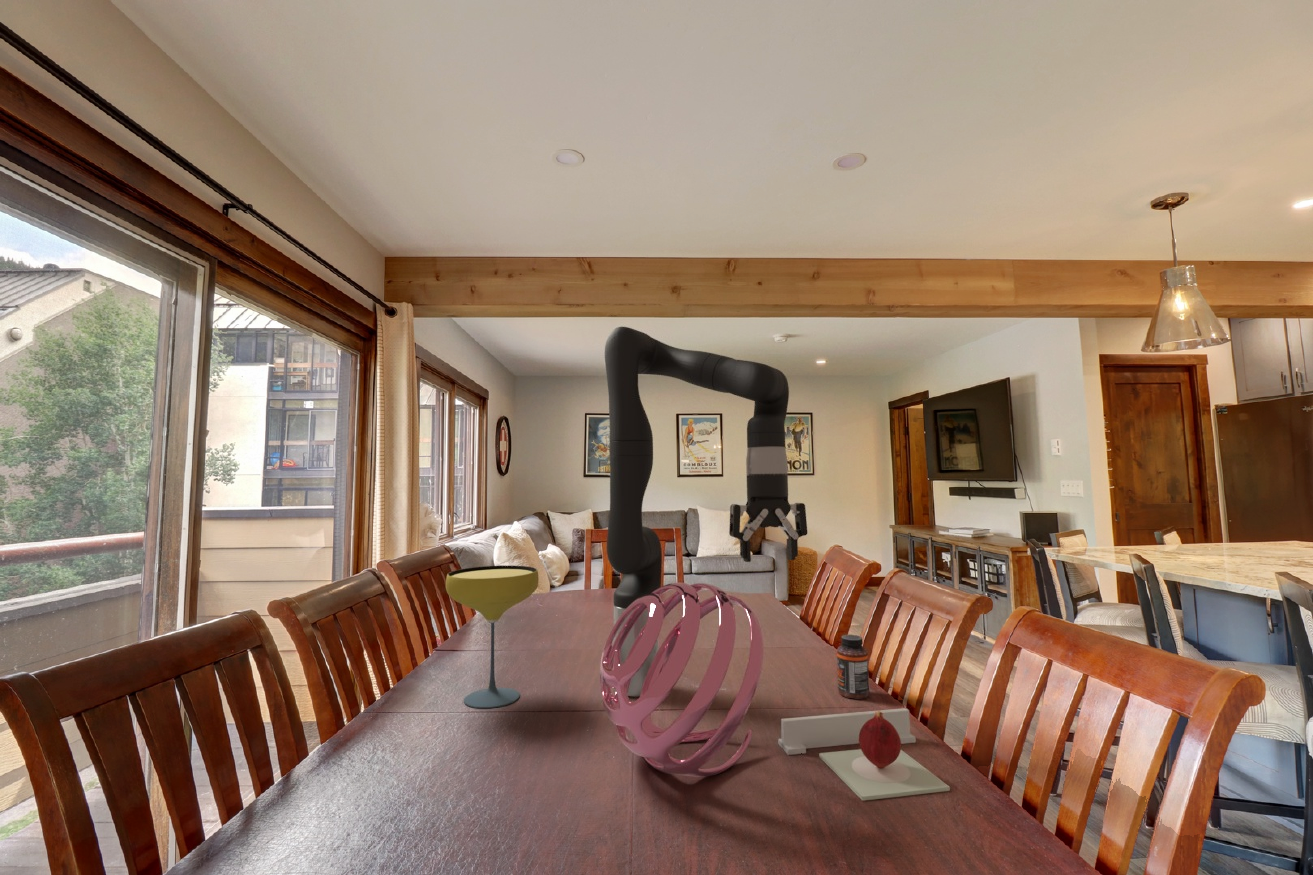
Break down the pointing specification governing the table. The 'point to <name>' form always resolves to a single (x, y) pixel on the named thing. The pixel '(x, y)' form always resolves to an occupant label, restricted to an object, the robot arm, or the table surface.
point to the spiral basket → (668, 671)
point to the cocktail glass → (492, 612)
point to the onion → (879, 741)
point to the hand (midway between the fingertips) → (769, 560)
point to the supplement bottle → (852, 668)
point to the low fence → (837, 729)
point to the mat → (882, 775)
